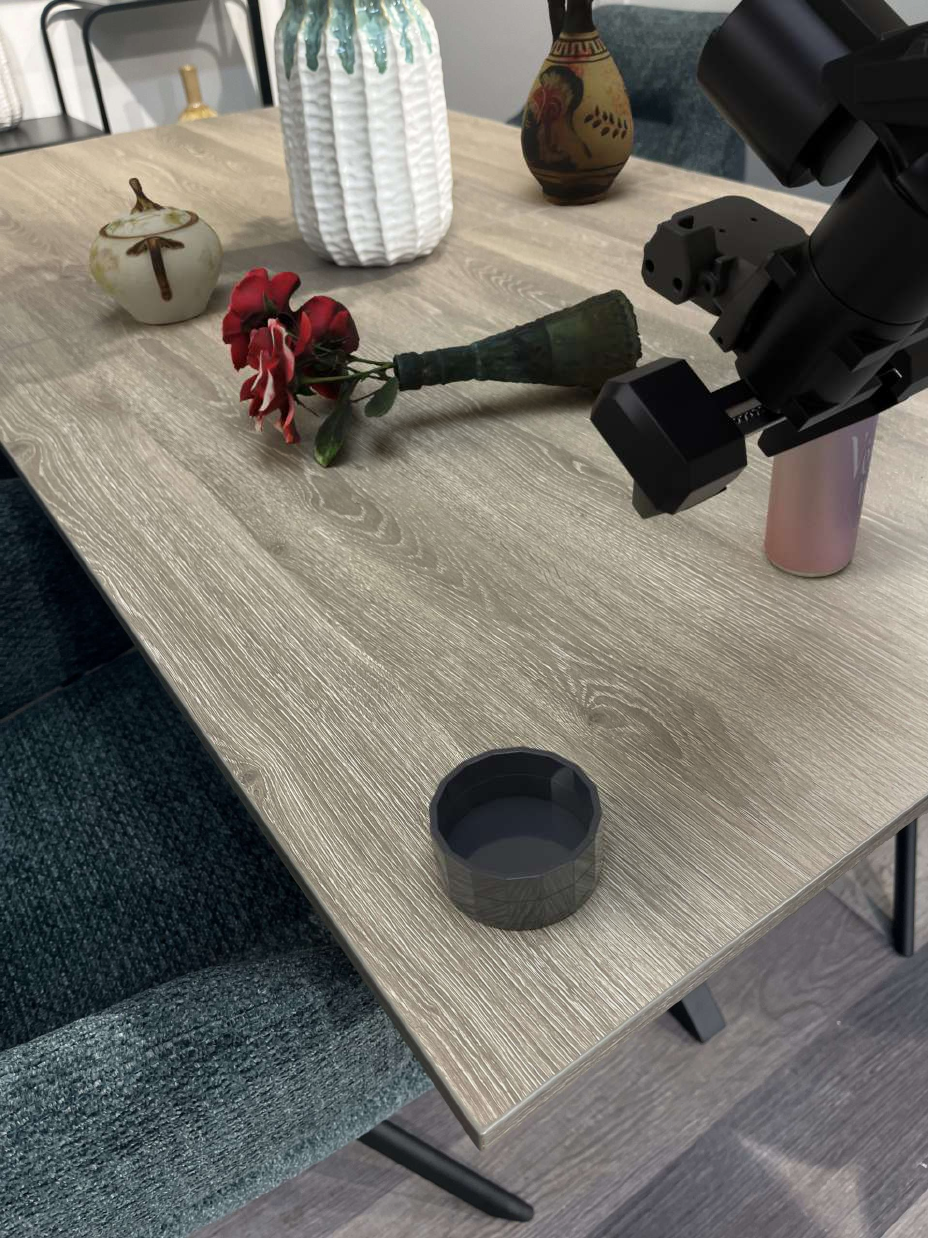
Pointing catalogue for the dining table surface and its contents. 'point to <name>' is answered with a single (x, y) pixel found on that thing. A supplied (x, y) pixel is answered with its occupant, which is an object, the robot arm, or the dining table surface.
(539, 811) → the pot
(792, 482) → the beverage can
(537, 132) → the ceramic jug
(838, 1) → the robot arm
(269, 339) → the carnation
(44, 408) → the dining table surface
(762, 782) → the dining table surface
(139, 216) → the sugar bowl
